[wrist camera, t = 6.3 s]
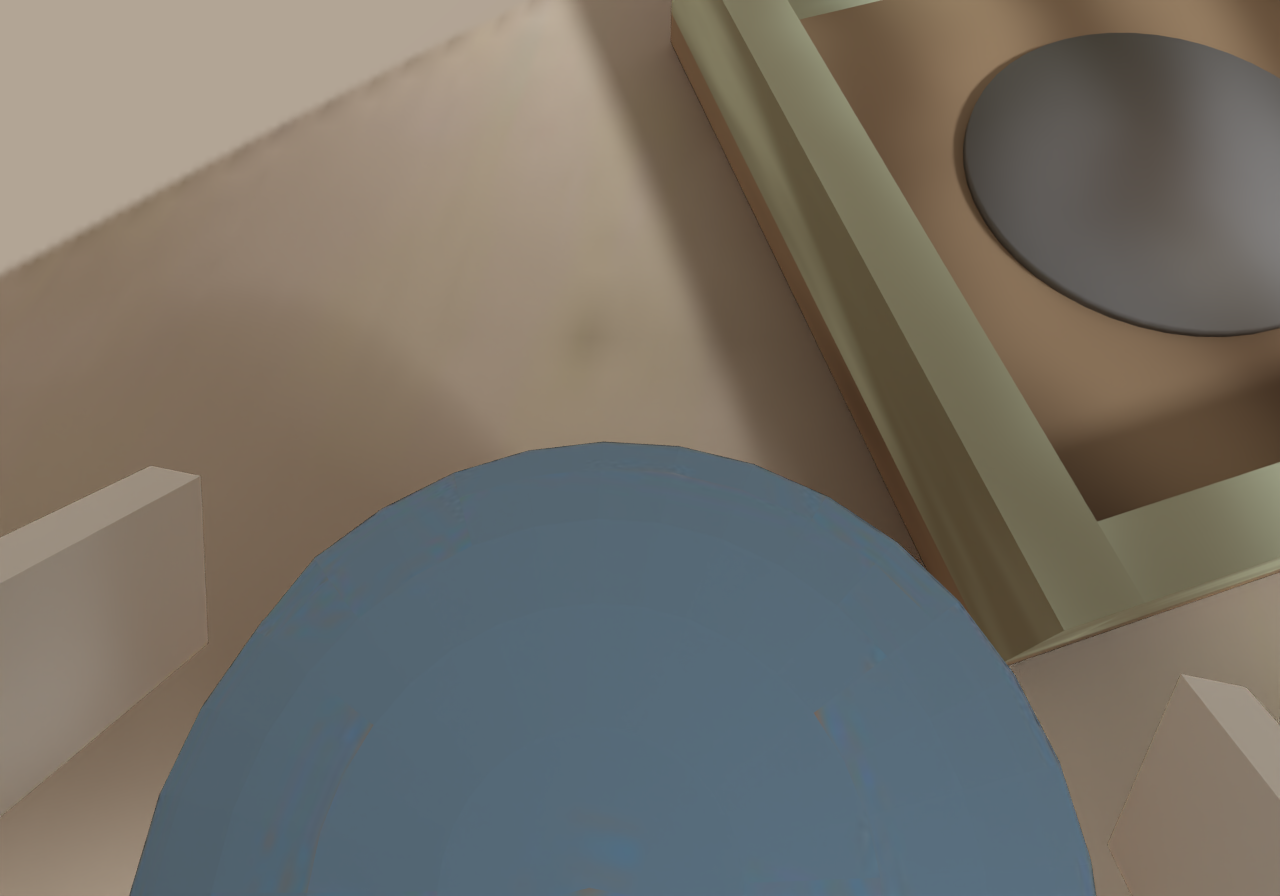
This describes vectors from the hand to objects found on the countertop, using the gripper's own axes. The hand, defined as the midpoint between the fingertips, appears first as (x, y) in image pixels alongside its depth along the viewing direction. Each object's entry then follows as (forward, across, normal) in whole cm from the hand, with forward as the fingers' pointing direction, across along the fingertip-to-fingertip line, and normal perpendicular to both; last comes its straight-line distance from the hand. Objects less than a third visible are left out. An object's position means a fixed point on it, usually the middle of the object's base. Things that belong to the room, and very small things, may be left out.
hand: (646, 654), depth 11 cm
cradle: (+16, +10, +7) cm, 20 cm away
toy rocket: (+4, 0, -6) cm, 7 cm away
